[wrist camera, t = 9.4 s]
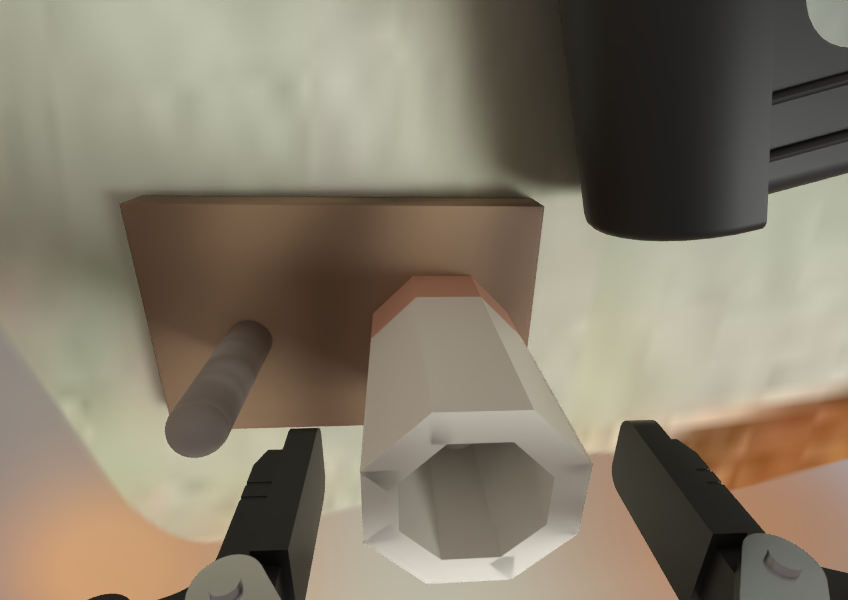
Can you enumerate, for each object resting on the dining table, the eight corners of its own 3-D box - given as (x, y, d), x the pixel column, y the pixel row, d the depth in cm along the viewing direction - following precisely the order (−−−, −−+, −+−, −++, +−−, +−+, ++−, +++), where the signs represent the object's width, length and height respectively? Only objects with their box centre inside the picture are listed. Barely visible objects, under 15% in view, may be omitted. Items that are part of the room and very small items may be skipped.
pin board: (531, 198, 17) (622, 258, 11) (509, 399, 21) (566, 540, 14) (142, 195, 16) (-31, 259, 10) (188, 407, 20) (84, 563, 13)
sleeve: (510, 275, 17) (604, 407, 9) (499, 391, 19) (569, 576, 11) (372, 275, 16) (357, 413, 9) (375, 394, 18) (365, 587, 11)
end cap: (506, -118, 14) (602, -303, 7) (743, -189, 13) (1049, -443, 7) (553, 208, 18) (643, 265, 11) (738, 158, 17) (933, 187, 11)
